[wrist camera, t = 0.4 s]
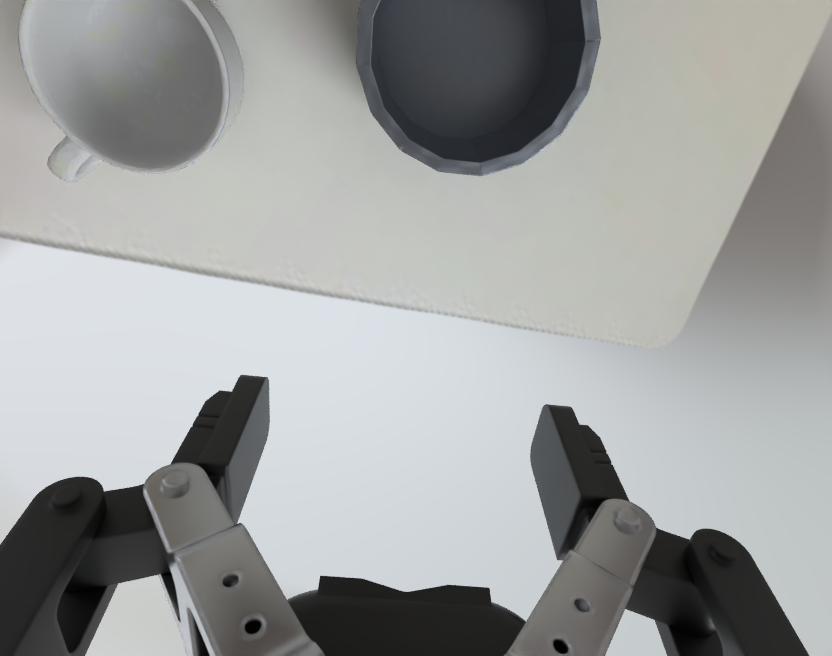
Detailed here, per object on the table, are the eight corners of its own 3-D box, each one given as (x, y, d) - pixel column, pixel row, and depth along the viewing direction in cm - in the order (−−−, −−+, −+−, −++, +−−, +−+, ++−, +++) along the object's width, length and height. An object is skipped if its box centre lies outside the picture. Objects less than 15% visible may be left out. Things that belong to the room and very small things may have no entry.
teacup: (182, -70, 32) (117, -101, 25) (294, 95, 37) (266, 108, 30) (28, 67, 36) (-66, 73, 29) (148, 202, 40) (91, 237, 33)
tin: (375, -80, 32) (364, -117, 25) (579, -53, 33) (629, -81, 25) (363, 138, 38) (351, 162, 30) (536, 157, 39) (566, 185, 31)
